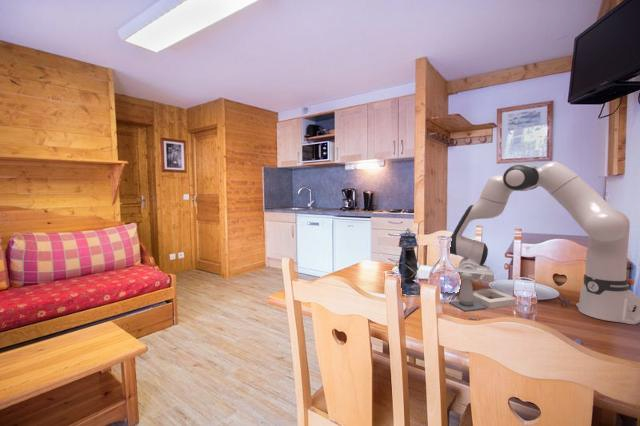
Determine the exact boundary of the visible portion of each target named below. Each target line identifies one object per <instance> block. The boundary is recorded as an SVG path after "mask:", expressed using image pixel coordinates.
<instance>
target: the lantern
mask: <svg viewBox="0 0 640 426" xmlns="http://www.w3.org/2000/svg"><path fill="white" fill-rule="evenodd" d="M399 236H400V238H399V241H398V247H400V248H401V251H400V255H399V260H398V261H397V262H396V263H395V265H396V267H397V269H398V273H399V275H400V281H401V288H402V295H401V296H403V294H406V295H418V296H421V295H420V289H421V285H420V283H418V282H416V279H417V278H416V277H417V275H418V270H419V268H420V266H421V262H420V260H418V259H417V255H416V251H415V248H418V247H419V245H418V239H417V238H416V236H417V234H416V233H415V232H411V231H410V228H407V229H406V231H405V232H401V233H399ZM418 262H419V264H418Z"/></svg>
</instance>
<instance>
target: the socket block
mask: <svg viewBox="0 0 640 426" xmlns="http://www.w3.org/2000/svg"><path fill="white" fill-rule="evenodd" d="M473 294H474V302H476V303H478V304H480V305H482V306H484V307H487V308H488V309H496V308H503V307H511V306H516V305H515V301H516V299H515V298H516V297H514V296H512V295H510V294H507V293H504V292H502V291H499V290H497V289H494V288H485V289H476V290H473Z"/></svg>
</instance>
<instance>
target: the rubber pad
mask: <svg viewBox="0 0 640 426" xmlns="http://www.w3.org/2000/svg"><path fill="white" fill-rule="evenodd" d="M448 304H449V305H451V306H454V307H455V308H457V309H459V310H461V311H463V312H464V313H467V312H474V311H481V310H487V307H485V306H483V305H481V304H479V303H477V302H475V301H474V302H473V304H472V305H471V306H464V305H462V304H461V302H460V300H459V299H458V300H451V301H448Z"/></svg>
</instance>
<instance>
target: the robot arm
mask: <svg viewBox="0 0 640 426" xmlns="http://www.w3.org/2000/svg"><path fill="white" fill-rule="evenodd" d="M538 187H541V188H542V189H544V190H545V191H546V192H547V193H548V194H550V196H551V197H552V198H554V199H555V200H556V201H557V202H558V203H559V205H561V207H563V208H564V209H565V210H566V211H567V212H568V214H569V215H570V216H571V217H572V219H574V221H575V223H577V224H578V225H579V226H580V228H582V229H583V230H584V232H585V233H586V235H588V242H587V248H586V253H585V254H586V255H585V274H583V277H582V278H583V285H582V286H581V288H580V295H579V302H576V304H575V305H576V307H577V308H578V311H579V312H580V313H582V314H584V315H585V316H588V317H591V318H594V319H597V320H598V319H599V320H602V321H608V322H616V323H623V324H628V325H636V324H640V297H639V296H638V295H637V294H636V293H634V292H633V291H632V290H631V289H630V285H631V286H634V284H635V283H636V281H635V279H629V278H627V268H628V267H627V266H628V252H629V250H628V249H629V239H630V228H631V227H630V225H631V223H630V220H629V219H630V218H629V217H628V216H627V215H626V214H625V213H624V212H622V211H619V210H617V209H614V208H613V207H612V206H611V205H610V204H609V203H608V201H606V200H605V199H604V198H603V197H602V196H601V195H600V194H599V193H598V191H596V190H595V189H594V188H593V187H592V186H591V185H590V184H588V183H587V182H586V181H585V180H584V179H583V178H582V177H581V176H579V175H578V174H577V173H576V172H575V171H574V170H571V169H570V168H569V167H567V166H566V165H564V164H563V163H560V162H558V161H549V162H547V163H545V164H543V165H542V166H540V167H536V166H533V165H529V164H515V165H512V166H510V167H508V169H506V170H505V171H504V173H503V175H500V174H499V175H492V176H491V177H490V178H489V179H487V181H486V183H485V185H484V187H483V189H482V191H481V195H480V196H479V199H478V200H477V201H476V203H474V204H471V205H469V206H468V207H467V209H465V211H464V213H463V214H462V216H461V218H460V220H459V222H458V224H457V225H456V227H455V228H454V231H453V232H452V233H451V235H450V236H449V237H448V239H449V238H452V241H451V247H450V253H449V254H451V255H455V256H459V257H462V259H461V260H460V261H459V264H458V267H456V269H457V271H458V273H459V275H460V279H459V280H463V279H462V278H461V274H462V273H464V272H467V273H471V274H472V276H473V278H472V279H471V282H472V281H476V282H478V283H482V282H487V283H494V281H495V274H494V271H493V270H492V269H491V268H490V266H489V265H485V263H486V261H487V258H488V254H489V249H488V246H487V244H486V243H485V242H482V241H480V240H476V239H472V238H469V237H466V236H463V234H464V232H465V230H466V229H467V227H468V225H469V224H470V223H471V222H472V221H474V220H484V219H485V220H486V219H493V218H496V217H498V216H500V215H502V213H503V212H504V210H505V208H506V206H507V203H508V202H509V201H508V200H509V198H510V196H511V194H512V193H513V192H516V191H517V192H519V191H520V192H527V191H530V190H534V189H536V188H538Z"/></svg>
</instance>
